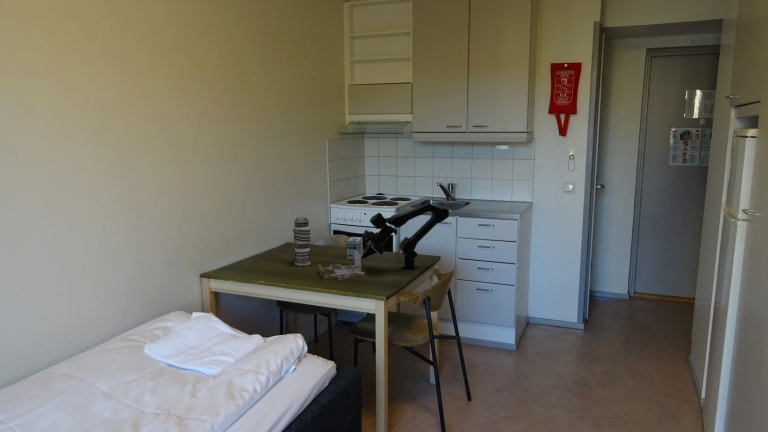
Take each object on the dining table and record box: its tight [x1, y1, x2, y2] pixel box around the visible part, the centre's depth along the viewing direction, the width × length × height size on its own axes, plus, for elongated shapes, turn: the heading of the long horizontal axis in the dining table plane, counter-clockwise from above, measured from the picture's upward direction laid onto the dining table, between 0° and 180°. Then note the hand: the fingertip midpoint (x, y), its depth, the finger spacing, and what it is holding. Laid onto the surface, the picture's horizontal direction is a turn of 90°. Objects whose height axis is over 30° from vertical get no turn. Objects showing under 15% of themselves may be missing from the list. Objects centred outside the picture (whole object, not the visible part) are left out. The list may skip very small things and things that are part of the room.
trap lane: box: [317, 263, 365, 281], centre depth 262 cm, size 21×23×4 cm
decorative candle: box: [292, 216, 312, 266], centre depth 279 cm, size 9×9×25 cm
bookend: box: [333, 251, 362, 276], centre depth 263 cm, size 12×10×10 cm
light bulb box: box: [346, 236, 364, 260], centre depth 293 cm, size 11×7×11 cm, turn 168°
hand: (362, 257), depth 264 cm, fingers closed
